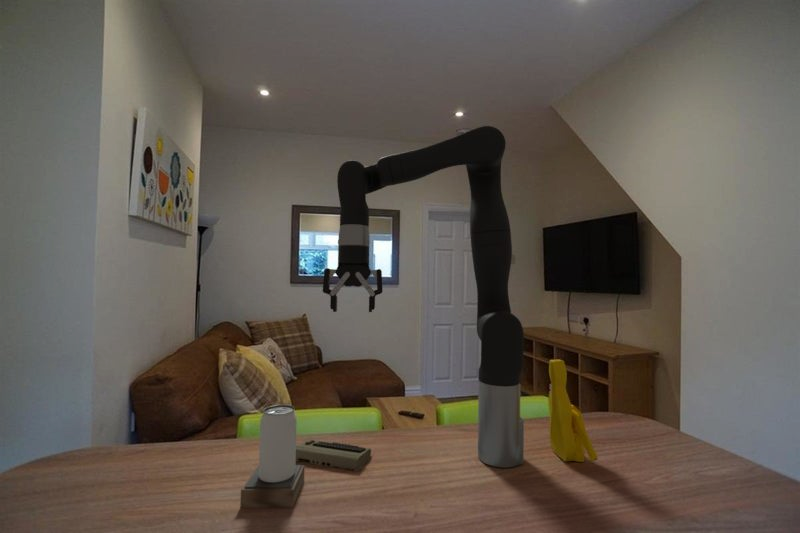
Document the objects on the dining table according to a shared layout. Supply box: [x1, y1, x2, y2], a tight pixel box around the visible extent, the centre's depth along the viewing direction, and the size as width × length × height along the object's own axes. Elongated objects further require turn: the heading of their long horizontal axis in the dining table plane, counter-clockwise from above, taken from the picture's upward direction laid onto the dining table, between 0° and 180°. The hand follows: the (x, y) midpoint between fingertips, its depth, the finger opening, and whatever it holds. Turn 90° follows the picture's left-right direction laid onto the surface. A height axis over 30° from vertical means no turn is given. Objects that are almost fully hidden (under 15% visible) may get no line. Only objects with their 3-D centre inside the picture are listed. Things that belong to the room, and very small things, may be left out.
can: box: [258, 404, 298, 483], centre depth 71 cm, size 6×6×12 cm
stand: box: [239, 464, 306, 509], centre depth 71 cm, size 9×9×3 cm
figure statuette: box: [547, 358, 599, 463], centre depth 88 cm, size 18×8×22 cm, turn 4°
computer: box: [296, 439, 372, 472], centre depth 86 cm, size 16×8×3 cm, turn 73°
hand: (352, 311), depth 93 cm, fingers open, 8 cm apart
